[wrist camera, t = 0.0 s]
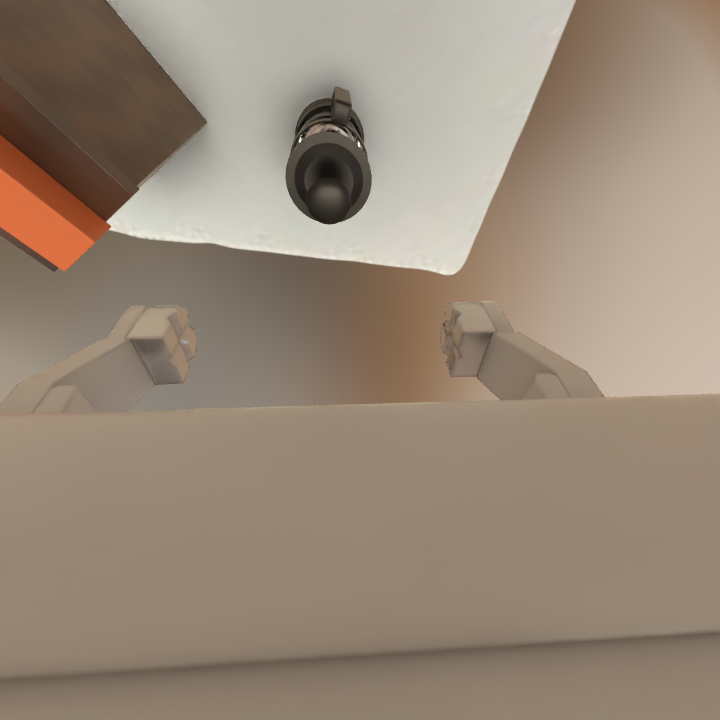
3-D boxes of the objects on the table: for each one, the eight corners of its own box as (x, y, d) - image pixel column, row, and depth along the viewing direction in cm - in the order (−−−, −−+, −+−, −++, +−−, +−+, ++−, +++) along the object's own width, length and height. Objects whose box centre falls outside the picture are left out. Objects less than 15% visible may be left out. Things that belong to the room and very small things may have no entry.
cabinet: (36, 73, 44) (-187, 121, 25) (98, -13, 39) (-117, -33, 20) (149, 182, 53) (48, 277, 34) (210, 122, 48) (133, 195, 29)
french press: (351, 188, 55) (360, 266, 38) (289, 170, 52) (269, 244, 36) (376, 97, 47) (400, 144, 30) (304, 70, 45) (288, 106, 28)
